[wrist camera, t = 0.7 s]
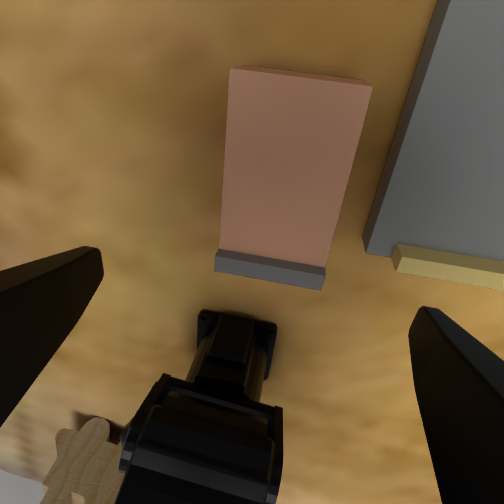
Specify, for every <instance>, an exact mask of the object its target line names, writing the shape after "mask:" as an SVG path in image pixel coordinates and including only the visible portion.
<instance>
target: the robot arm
mask: <svg viewBox="0 0 504 504" xmlns="http://www.w3.org/2000/svg"><path fill="white" fill-rule="evenodd" d="M103 276H104V269H103V263H102V256H101V252H100V250H99V249H98V248H94V247H89V246H82V247H79V248H75V249H72V250H69V251H65V252H62V253H59V254H55V255H52V256H49V257H45V258H42V259H39V260H35V261H32V262H29V263H25V264H22V265H19V266H15V267H12V268H9V269H5V270H2V271H0V427H1V426H2V424H3V423H4V422H5V420H6V419H7V418H8V416H9V415H10V414H11V412H12V411H13V410H14V408H15V407H16V405H17V404H18V403H19V401H20V400H21V399H22V397H23V396H24V395H25V393H26V392H27V390H28V389H29V388H30V386H31V385H32V384H33V382H34V381H35V380H36V378H37V377H38V376H39V374H40V373H41V371H42V370H43V369H44V367H45V366H46V365H47V363H48V362H49V361H50V359H51V358H52V356H53V355H54V354H55V352H56V351H57V350H58V348H59V347H60V346H61V344H62V343H63V342H64V340H65V339H66V337H67V336H68V335H69V333H70V332H71V331H72V329H73V328H74V326H75V325H76V324H77V322H78V320H79V319H80V317H81V316H82V314H83V312H84V311H85V309H86V307H87V305H88V304H89V302H90V300H91V299H92V297H93V295H94V293H95V292H96V290H97V288H98V286H99V285H100V283H101V281H102V279H103ZM203 316H205V317H203ZM269 329H272V330H269ZM276 334H277V326H276V325H274V324H272V323H267V322H261V321H256V320H251V319H246V318H241V317H236V316H231V315H226V314H221V313H216V312H210V311H205V310H203V311H201V312H200V313H199V315H198V332H197V353H196V355H195V358H194V360H193V363H192V365H191V368H190V370H189V373H188V375H187V378H186V380H185V381H184V380H181V379H178V378H174V377H171V375H169V374H165V373H163V374H162V376H161V378H160V379H159V381H158V382H157V381H156V382H155V384H154V386H153V387H152V389H151V390H150V392H149V394H148V395H147V397H146V398H145V400H144V402H143V403H142V405H141V406H140V408H139V410H138V411H137V413H136V414H135V416H134V417H133V418H132V419H131V420H130V422H129V423H128V424H127V425H126V426H125V427H124V428H123V430H122V432H121V435H120V441H121V444H122V447H123V448H122V452H121V458H120V462H119V469H118V470H119V472H120V473H123V474H125V475H124V478H123V481H122V484H121V486H120V489H119V492H118V495H117V497H116V500H115V503H114V504H275V503H276V500H277V496H278V491H279V487H280V481H281V475H282V467H283V408H281V407H278V406H275V407H273V406H270V405H266V404H263V403H260V398H261V392H262V386H263V380H266V379H267V378H268V375H269V370H270V365H271V360H272V355H273V350H274V345H275V340H276ZM408 338H409V346H410V355H411V363H412V372H413V380H414V387H415V392H416V397H417V401H418V405H419V410H420V414H421V418H422V422H423V426H424V430H425V434H426V439H427V443H428V447H429V451H430V455H431V459H432V463H433V468H434V472H435V476H436V480H437V484H438V488H439V492H440V496H441V501H442V504H504V361H503V360H502V359H501V358H499V357H498V356H497V355H496V354H494V353H493V352H492V351H491V350H489V349H488V348H487V347H486V346H484V345H483V344H482V343H481V342H479V341H478V340H477V339H476V338H474V337H473V336H472V335H471V334H469V333H468V332H467V331H466V330H464V329H463V328H462V327H461V326H459V325H458V324H457V323H455V322H454V321H453V320H452V319H450V318H449V317H448V316H447V315H445V314H444V313H443V312H442V311H440V310H439V309H437V308H432V307H426V306H422V307H420V308H419V310H418V312H417V314H416V316H415V318H414V320H413V322H412V324H411V327H410V329H409V334H408Z"/></svg>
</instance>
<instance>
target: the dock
mask: <svg viewBox="0 0 504 504" xmlns="http://www.w3.org/2000/svg"><path fill="white" fill-rule="evenodd" d="M362 240H363V244H364V248H365V252H366V253H367V254H373V255H379V256H384V257H390V258H391V259H392V262H393V264H394V267H395V270H396V272H401V273H407V274H413V275H418V276H424V277H430V278H435V279H441V280H447V281H452V282H458V283H464V284H469V285H475V286H481V287H486V288H492V289H498V290H503V291H504V0H438V1H437V4H436V7H435V11H434V14H433V17H432V20H431V23H430V26H429V29H428V33H427V36H426V39H425V42H424V45H423V48H422V51H421V54H420V58H419V61H418V64H417V67H416V70H415V73H414V76H413V80H412V83H411V86H410V89H409V92H408V95H407V98H406V101H405V105H404V108H403V111H402V114H401V117H400V120H399V123H398V127H397V130H396V133H395V136H394V139H393V142H392V145H391V148H390V152H389V155H388V158H387V161H386V164H385V167H384V170H383V174H382V177H381V180H380V183H379V186H378V189H377V192H376V195H375V199H374V202H373V205H372V208H371V211H370V214H369V217H368V221H367V224H366V227H365V230H364V233H363V236H362Z"/></svg>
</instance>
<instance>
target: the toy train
mask: <svg viewBox="0 0 504 504" xmlns="http://www.w3.org/2000/svg"><path fill="white" fill-rule="evenodd" d="M109 433H110V427H109V423H108V422H107V421H106V420H105V419H104V418H99V417H94V418H93V419H91V420H89V421H87V422H86V423H85V425H84V426H83V427H82V428H81V429H80V431H79V432H78V431H74V430H69V429H65V428H64V429H61V430H60V431H59V432H58V433H57V435H56V438H55V439H56V448H57V457H58V458H57V459H56V461H55V463H54V464H53V466H52V467H51V469H50V471H49V472H48V474H47V476H46V477H45V479H44V481H43V482H42V483H43V488H44V493H45V496H44V498H43V499H42V501H41V503H40V504H114V503H115V500H116V497H117V495H118V492H119V489H120V486H121V484H122V481H123V478H124V475H125V474H123V473H120V472H119V470H118V469H119V462H120V458H121V452H122V448H123V447H122V444H121V441H120V442H119V444H118V445H115V444H113V443H110V442H109Z"/></svg>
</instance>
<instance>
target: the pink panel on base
mask: <svg viewBox="0 0 504 504" xmlns="http://www.w3.org/2000/svg"><path fill="white" fill-rule="evenodd" d="M372 90H373V86H371V85H370V84H368V83H367V82H365V81H364V80H357V79H350V78H342V77H334V76H326V75H318V74H311V73H303V72H295V71H287V70H279V69H272V68H264V67H256V66H248V65H243V66H238V67H233V68H230V73H229V89H228V106H227V123H226V139H225V156H224V172H223V189H222V206H221V222H220V239H219V249H218V251H217V253H216V255H215V270H214V271H218V272H223V273H228V274H234V275H239V276H245V277H250V278H255V279H261V280H266V281H272V282H277V283H283V284H288V285H293V286H299V287H304V288H310V289H315V290H320V291H321V290H322V287H323V283H324V279H325V266H326V262H327V259H328V255H329V251H330V247H331V244H332V240H333V236H334V232H335V229H336V225H337V221H338V217H339V214H340V210H341V206H342V202H343V199H344V195H345V191H346V187H347V184H348V180H349V176H350V172H351V169H352V165H353V161H354V157H355V154H356V150H357V146H358V142H359V139H360V135H361V131H362V127H363V123H364V120H365V116H366V112H367V108H368V105H369V101H370V97H371V93H372Z"/></svg>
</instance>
